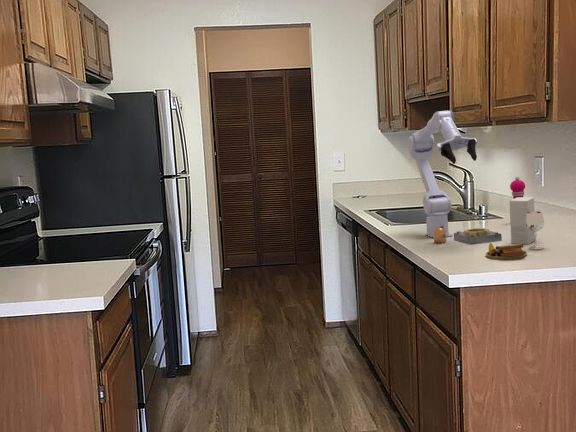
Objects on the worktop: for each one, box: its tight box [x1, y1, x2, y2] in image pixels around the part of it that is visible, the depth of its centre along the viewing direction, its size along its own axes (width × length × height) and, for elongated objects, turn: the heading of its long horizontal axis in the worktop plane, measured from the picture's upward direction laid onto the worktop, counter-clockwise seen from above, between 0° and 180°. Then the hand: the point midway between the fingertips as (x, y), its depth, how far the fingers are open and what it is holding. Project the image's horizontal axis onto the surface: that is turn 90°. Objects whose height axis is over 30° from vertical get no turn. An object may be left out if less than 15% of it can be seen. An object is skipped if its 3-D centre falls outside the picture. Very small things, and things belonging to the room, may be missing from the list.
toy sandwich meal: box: [485, 242, 528, 260], centre depth 191 cm, size 12×14×5 cm
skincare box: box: [509, 196, 535, 245], centre depth 211 cm, size 8×7×16 cm
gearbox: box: [453, 227, 503, 245], centre depth 226 cm, size 17×12×4 cm
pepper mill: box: [509, 176, 526, 199], centre depth 253 cm, size 7×7×20 cm
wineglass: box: [525, 210, 545, 250], centre depth 199 cm, size 6×6×12 cm
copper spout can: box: [433, 225, 447, 245], centre depth 226 cm, size 4×4×7 cm
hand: (465, 160), depth 211 cm, fingers open, 7 cm apart
